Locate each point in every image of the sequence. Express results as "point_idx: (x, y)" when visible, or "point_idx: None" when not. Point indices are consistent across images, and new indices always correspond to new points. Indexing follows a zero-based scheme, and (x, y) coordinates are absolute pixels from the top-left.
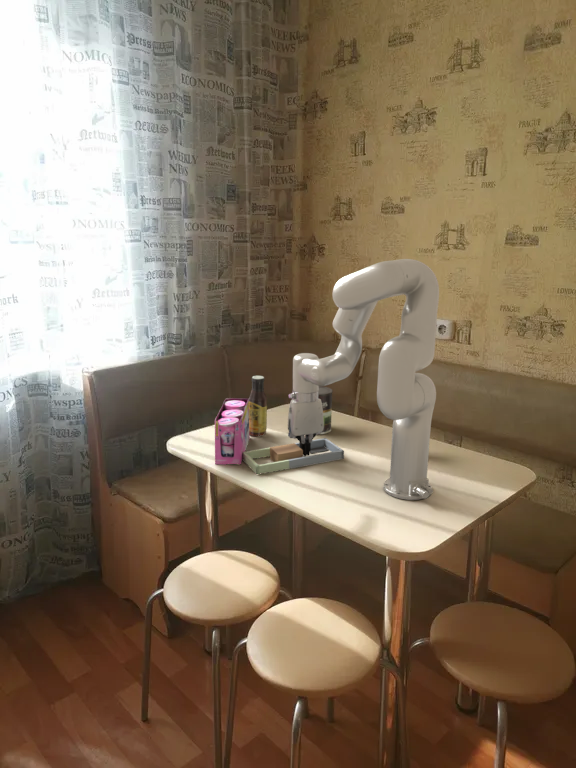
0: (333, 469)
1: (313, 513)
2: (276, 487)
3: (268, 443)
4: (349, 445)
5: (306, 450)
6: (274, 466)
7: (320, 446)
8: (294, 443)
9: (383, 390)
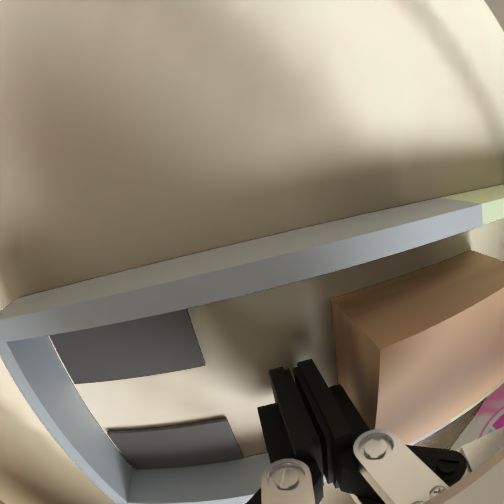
0: (121, 103)
1: None
2: (484, 29)
3: None
4: (18, 438)
5: (308, 391)
6: None
7: (156, 472)
8: None
9: None
